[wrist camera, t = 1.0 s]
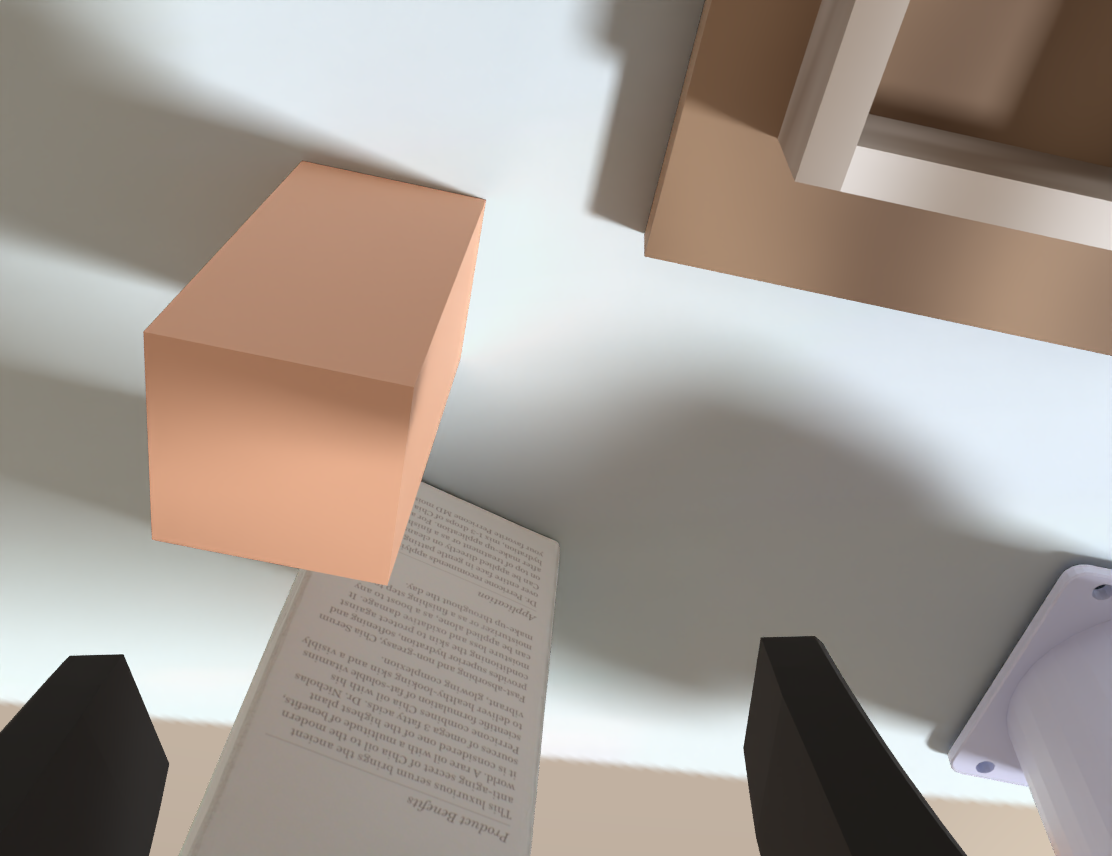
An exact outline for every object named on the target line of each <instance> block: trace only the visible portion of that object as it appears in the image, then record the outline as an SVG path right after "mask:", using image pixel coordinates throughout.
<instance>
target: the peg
mask: <svg viewBox="0 0 1112 856" xmlns="http://www.w3.org/2000/svg"><path fill="white" fill-rule="evenodd" d="M485 203H486V200H484V199H479V198H475V197H470V196H465V195H461V194H456V193H451V192H447V191H442V190H437V189H433V188H428V187H423V186H419V185H414V184H409V183H405V182H400V181H395V180H390V179H386V178H381V177H376V176H372V175H367V174H362V173H358V172H353V171H348V170H344V169H339V168H334V167H330V166H325V165H320V164H316V163H311V162H306V161H301V162H300V163H299V165H298V166H297V167H296V168H295V169H294V170H293V171H292V172H291V173H290V174H289V175H288V176H287V178H286V179H285V180H284V181H283V182H282V183H281V184H280V185H279V186H278V187H277V188H276V189H275V190H274V192H273V193H272V194H271V195H270V196H269V197H268V198H267V199H266V200H265V201H264V202H263V203H262V204H261V206H260V207H259V208H258V209H257V210H256V211H255V212H254V213H253V214H252V215H251V216H250V217H249V218H248V220H247V221H246V222H245V223H244V224H243V225H242V226H241V227H240V228H239V229H238V230H237V231H236V232H235V234H234V235H233V236H232V237H231V238H230V239H229V240H228V241H227V242H226V243H225V244H224V245H223V247H222V248H221V249H220V250H219V251H218V252H217V253H216V254H215V255H214V256H213V257H212V258H211V259H210V261H209V262H208V263H207V264H206V265H205V266H204V267H203V268H202V269H201V270H200V271H199V272H198V273H197V275H196V276H195V277H194V278H193V279H192V280H191V281H190V282H189V283H188V284H187V285H186V286H185V287H184V289H183V290H182V291H181V292H180V293H179V294H178V295H177V296H176V297H175V298H174V299H173V300H172V302H171V303H170V304H169V305H168V306H167V307H166V308H165V309H164V310H163V311H162V312H161V313H160V314H159V316H158V317H157V318H156V319H155V320H154V321H153V322H152V323H151V324H150V325H149V326H148V327H147V328H146V330H145V331H144V356H145V381H146V405H147V430H148V454H149V479H150V503H151V528H152V540H156V541H161V542H166V543H172V544H177V545H182V546H187V547H192V548H197V549H202V550H207V551H213V552H218V553H223V554H228V555H233V556H238V557H243V558H248V559H253V560H259V561H264V562H269V563H274V564H279V565H284V566H289V567H294V568H299V569H305V570H310V571H315V572H320V573H325V574H330V575H335V576H340V577H345V578H351V579H356V580H361V581H366V582H371V583H376V584H381V585H386V586H387V585H388V582H389V579H390V576H391V573H392V570H393V567H394V564H395V560H396V557H397V554H398V551H399V548H400V545H401V542H402V539H403V536H404V532H405V529H406V526H407V523H408V520H409V517H410V514H411V511H412V508H413V504H414V501H415V498H416V495H417V492H418V489H419V486H420V483H421V480H422V476H423V473H424V470H425V467H426V464H427V461H428V458H429V455H430V452H431V448H432V445H433V442H434V439H435V436H436V433H437V430H438V427H439V424H440V420H441V417H442V414H443V411H444V408H445V405H446V402H447V399H448V396H449V392H450V389H451V386H452V383H453V380H454V377H455V374H456V371H457V368H458V364H459V361H460V358H461V351H462V345H463V339H464V333H465V327H466V320H467V314H468V308H469V302H470V296H471V289H472V283H473V277H474V271H475V265H476V259H477V252H478V246H479V240H480V234H481V228H482V221H483V215H484V209H485Z"/></svg>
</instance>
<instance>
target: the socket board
mask: <svg viewBox="0 0 1112 856" xmlns="http://www.w3.org/2000/svg"><path fill="white" fill-rule="evenodd" d="M644 256H645V257H650V258H655V259H660V260H664V261H669V262H674V263H678V264H683V265H688V266H692V267H697V268H702V269H706V270H711V271H716V272H721V273H725V274H730V275H735V276H739V277H744V278H749V279H753V280H758V281H763V282H768V283H772V284H777V285H782V286H786V287H791V288H796V289H800V290H805V291H810V292H815V293H819V294H824V295H829V296H833V297H838V298H843V299H847V300H852V301H857V302H861V303H866V304H871V305H876V306H880V307H885V308H890V309H894V310H899V311H904V312H908V313H913V314H918V315H923V316H927V317H932V318H937V319H941V320H946V321H951V322H955V323H960V324H965V325H970V326H974V327H979V328H984V329H988V330H993V331H998V332H1002V333H1007V334H1012V335H1016V336H1021V337H1026V338H1031V339H1035V340H1040V341H1045V342H1049V343H1054V344H1059V345H1063V346H1068V347H1073V348H1078V349H1082V350H1087V351H1092V352H1096V353H1101V354H1106V355H1110V356H1112V0H705V3H704V6H703V10H702V14H701V18H700V22H699V26H698V30H697V33H696V37H695V41H694V45H693V49H692V53H691V57H690V60H689V64H688V68H687V72H686V76H685V80H684V84H683V87H682V91H681V95H680V99H679V103H678V107H677V111H676V114H675V118H674V122H673V126H672V130H671V134H670V138H669V142H668V145H667V149H666V153H665V157H664V161H663V165H662V169H661V172H660V176H659V180H658V184H657V188H656V192H655V196H654V199H653V203H652V207H651V211H650V215H649V219H648V223H647V226H646V230H645V234H644Z"/></svg>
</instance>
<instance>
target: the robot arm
mask: <svg viewBox="0 0 1112 856" xmlns="http://www.w3.org/2000/svg"><path fill="white" fill-rule="evenodd" d="M1100 585H1105V586H1104V587H1103V588H1100V589H1095V588H1096V587H1097V586H1100ZM743 749H744V756H745V763H746V771H747V778H748V785H749V793H750V800H751V807H752V813H753V819H754V826H755V833H756V839H757V843H758V847H759V851H760V855H761V856H967V855H966V854H965V852H964V851H963V850H962V848H961V847H960V846H959V844H958V843H957V842H956V841H955V839H954V838H953V837H952V835H951V834H950V833H949V831H948V830H947V829H946V827H945V826H944V825H943V824H942V822H941V821H940V820H939V818H938V817H937V815H936V814H935V813H934V811H933V810H932V808H931V807H930V806H929V804H928V803H927V801H926V800H925V799H924V797H923V796H922V795H921V793H920V792H919V790H918V789H917V788H916V786H915V785H914V783H913V782H912V781H911V779H910V778H909V777H908V775H907V774H906V772H905V771H904V770H903V768H902V767H901V765H900V764H899V762H898V761H897V760H896V758H895V757H894V755H893V754H892V752H891V751H890V749H889V748H888V746H887V745H886V743H885V742H884V740H883V739H882V737H881V736H880V734H879V733H878V731H877V730H876V728H875V727H874V725H873V724H872V722H871V721H870V719H869V718H868V716H867V715H866V713H865V712H864V710H863V709H862V707H861V705H860V704H859V702H858V701H857V699H856V698H855V696H854V694H853V693H852V691H851V690H850V688H849V686H848V685H847V683H846V682H845V680H844V678H843V677H842V675H841V673H840V672H839V670H838V668H837V667H836V665H835V663H834V662H833V660H832V658H831V656H830V655H829V653H828V651H827V650H826V648H825V646H824V644H823V643H822V642H821V641H820V640H819V639H817V638H816V637H815V636H802V637H764V638H761V640H760V646H759V653H758V659H757V665H756V672H755V678H754V684H753V691H752V697H751V704H750V710H749V716H748V723H747V729H746V735H745V742H744V748H743ZM948 758H949V761H950V765H951V768H952V769H953V770H954V771H955V772H958V773H961V774H966V775H971V776H976V777H981V778H986V779H992V780H997V781H1002V782H1007V783H1012V784H1018V785H1023V786H1028V787H1029V789H1030V791H1031V794H1032V796H1033V799H1034V802H1035V804H1036V807H1037V809H1038V812H1039V814H1040V817H1041V820H1042V822H1043V825H1044V827H1045V830H1046V832H1047V835H1048V838H1049V840H1050V843H1051V845H1052V847H1053V850H1054V853H1055V855H1056V856H1112V569H1107V568H1102V567H1097V566H1092V565H1083V564H1080V565H1076V566H1072V567H1070V568H1069V569H1067V570H1065V571H1064V572H1063V573H1062V574H1061V576H1060V577H1059V579H1058V580H1057V582H1056V583H1055V585H1054V587H1053V588H1052V590H1051V591H1050V593H1049V594H1048V596H1047V598H1046V599H1045V601H1044V602H1043V604H1042V605H1041V607H1040V609H1039V610H1038V612H1037V613H1036V615H1035V616H1034V618H1033V620H1032V621H1031V623H1030V624H1029V626H1028V628H1027V629H1026V631H1025V632H1024V634H1023V635H1022V637H1021V639H1020V640H1019V642H1018V643H1017V645H1016V646H1015V648H1014V650H1013V651H1012V653H1011V654H1010V656H1009V657H1008V659H1007V661H1006V662H1005V664H1004V665H1003V667H1002V669H1001V670H1000V672H999V673H998V675H997V676H996V678H995V680H994V681H993V683H992V684H991V686H990V687H989V689H988V691H987V692H986V694H985V695H984V697H983V698H982V700H981V702H980V703H979V705H978V706H977V708H976V709H975V711H974V713H973V714H972V716H971V717H970V719H969V721H968V722H967V724H966V725H965V727H964V728H963V730H962V732H961V733H960V735H959V736H958V738H957V739H956V741H955V743H954V744H953V746H952V747H951V749H950V750H949V753H948ZM168 767H169V762H168V760H167V757H166V755H165V753H164V750H163V748H162V745H161V743H160V741H159V738H158V736H157V734H156V731H155V729H154V726H153V724H152V722H151V719H150V717H149V714H148V712H147V710H146V707H145V705H144V702H143V700H142V698H141V695H140V693H139V690H138V688H137V686H136V683H135V681H134V678H133V676H132V674H131V671H130V669H129V667H128V664H127V662H126V659H125V657H124V655H123V654H119V655H81V656H69V657H68V658H67V659H66V660H65V661H64V662H63V663H62V664H61V665H60V666H59V667H58V669H57V670H56V671H55V672H54V673H53V674H52V675H51V676H50V677H49V678H48V679H47V681H46V682H45V683H44V684H43V685H42V686H41V687H40V688H39V689H38V691H37V692H36V693H35V694H34V695H33V696H32V697H31V698H30V700H29V701H28V702H27V703H26V704H25V705H24V706H23V707H22V709H21V710H20V711H19V712H18V713H17V714H16V715H15V716H14V718H13V719H12V720H11V721H10V722H9V723H8V724H7V725H6V726H5V728H4V729H3V730H2V731H1V732H0V856H149V853H150V849H151V844H152V840H153V836H154V832H155V828H156V823H157V819H158V815H159V810H160V806H161V801H162V796H163V791H164V786H165V782H166V777H167V771H168Z"/></svg>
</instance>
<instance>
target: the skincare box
mask: <svg viewBox="0 0 1112 856" xmlns="http://www.w3.org/2000/svg"><path fill="white" fill-rule="evenodd" d="M559 559H560V546H559V544H558V542H557V541H555V540H552V539H550V538H548V537H545V536H543V535H540V534H538V533H536V532H533V531H531V530H529V529H527V528H524V527H522V526H520V525H518V524H515V523H513V522H511V521H509V520H506V519H504V518H502V517H500V516H498V515H495V514H493V513H491V512H489V511H487V510H484V509H482V508H480V507H478V506H475V505H473V504H471V503H468V502H466V501H464V500H462V499H459V498H457V497H455V496H452V495H450V494H448V493H446V492H444V491H441V490H439V489H437V488H435V487H433V486H430V485H428V484H426V483H424V482H421V483H420V486H419V489H418V492H417V495H416V498H415V501H414V504H413V508H412V511H411V514H410V517H409V520H408V523H407V526H406V529H405V532H404V536H403V539H402V542H401V545H400V548H399V551H398V554H397V557H396V560H395V564H394V567H393V570H392V573H391V576H390V579H389V582H388V585H387V586H386V585H381V584H376V583H371V582H366V581H361V580H356V579H351V578H345V577H340V576H335V575H330V574H325V573H320V572H315V571H310V570H305V569H299V571H298V573H297V576H296V578H295V580H294V583H293V585H292V587H291V590H290V592H289V594H288V597H287V599H286V601H285V604H284V606H283V608H282V610H281V613H280V615H279V617H278V620H277V622H276V624H275V627H274V629H273V632H272V634H271V637H270V639H269V641H268V644H267V646H266V649H265V651H264V653H263V656H262V658H261V660H260V663H259V665H258V668H257V670H256V672H255V675H254V677H253V680H252V682H251V684H250V687H249V689H248V692H247V694H246V696H245V699H244V701H243V703H242V706H241V708H240V710H239V713H238V715H237V718H236V720H235V722H234V725H233V727H232V729H231V732H230V734H229V737H228V739H227V741H226V744H225V746H224V748H223V751H222V753H221V756H220V758H219V760H218V763H217V765H216V768H215V770H214V772H213V775H212V777H211V779H210V782H209V784H208V786H207V789H206V791H205V794H204V796H203V799H202V801H201V803H200V805H199V808H198V810H197V813H196V815H195V817H194V820H193V822H192V824H191V827H190V829H189V831H188V834H187V836H186V839H185V841H184V843H183V846H182V848H181V851H180V853H179V855H178V856H531V848H532V847H531V846H532V835H533V824H534V814H535V813H534V812H535V804H536V795H537V783H538V773H539V763H540V754H541V742H542V731H543V721H544V711H545V701H546V691H547V682H548V673H549V662H550V652H551V642H552V631H553V621H554V610H555V600H556V590H557V581H558V569H559Z"/></svg>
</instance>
